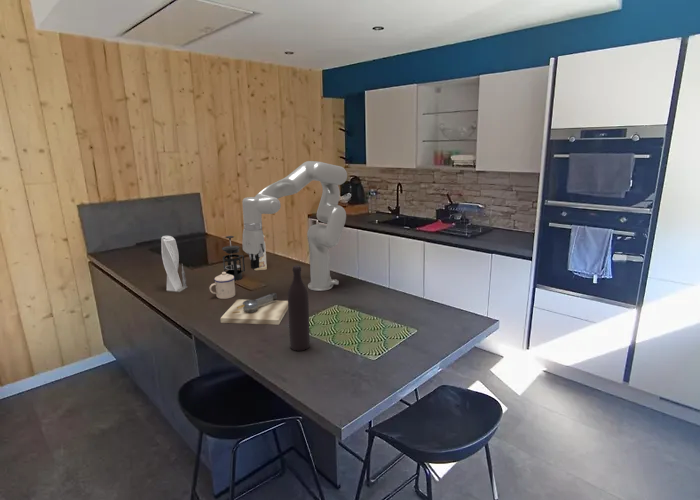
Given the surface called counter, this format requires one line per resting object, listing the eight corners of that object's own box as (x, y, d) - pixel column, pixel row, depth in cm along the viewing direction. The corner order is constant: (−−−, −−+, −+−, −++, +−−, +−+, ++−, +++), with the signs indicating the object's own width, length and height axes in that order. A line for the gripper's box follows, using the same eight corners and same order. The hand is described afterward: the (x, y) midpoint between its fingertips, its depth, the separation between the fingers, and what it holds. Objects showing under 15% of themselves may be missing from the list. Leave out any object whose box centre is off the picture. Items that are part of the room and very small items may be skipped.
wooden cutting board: (290, 305, 183) (289, 299, 183) (279, 324, 164) (278, 318, 164) (237, 303, 185) (237, 297, 185) (220, 322, 166) (220, 316, 165)
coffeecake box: (267, 269, 233) (265, 236, 228) (254, 271, 231) (252, 237, 226) (262, 262, 247) (260, 230, 242) (250, 263, 244) (248, 231, 239)
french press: (226, 282, 212) (222, 239, 206) (220, 277, 220) (216, 236, 213) (248, 278, 219) (245, 236, 213) (241, 273, 226) (238, 233, 220)
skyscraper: (177, 293, 198) (170, 236, 191) (162, 292, 200) (155, 236, 192) (187, 287, 206) (181, 232, 199) (173, 286, 208) (166, 232, 200)
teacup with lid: (230, 290, 201) (228, 268, 198) (239, 296, 194) (237, 272, 191) (206, 296, 194) (204, 273, 190) (214, 302, 187) (212, 278, 184)
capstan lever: (242, 315, 166) (241, 308, 165) (233, 311, 169) (233, 305, 169) (280, 300, 181) (280, 294, 180) (271, 297, 184) (271, 291, 184)
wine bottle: (310, 341, 150) (307, 263, 143) (309, 351, 144) (306, 269, 136) (291, 341, 150) (287, 263, 142) (289, 351, 143) (285, 269, 135)
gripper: (235, 225, 176) (237, 266, 181) (256, 230, 167) (259, 273, 171) (249, 223, 182) (251, 263, 186) (271, 227, 172) (273, 269, 177)
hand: (255, 267), depth 179 cm, fingers closed
